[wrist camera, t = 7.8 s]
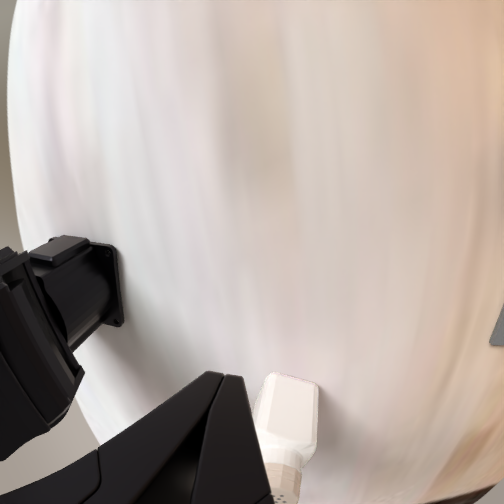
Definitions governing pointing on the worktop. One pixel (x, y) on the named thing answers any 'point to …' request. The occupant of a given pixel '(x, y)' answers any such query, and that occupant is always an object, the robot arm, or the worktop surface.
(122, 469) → the robot arm
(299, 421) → the pepper shaker
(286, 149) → the worktop surface
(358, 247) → the worktop surface
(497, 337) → the rubber mat
